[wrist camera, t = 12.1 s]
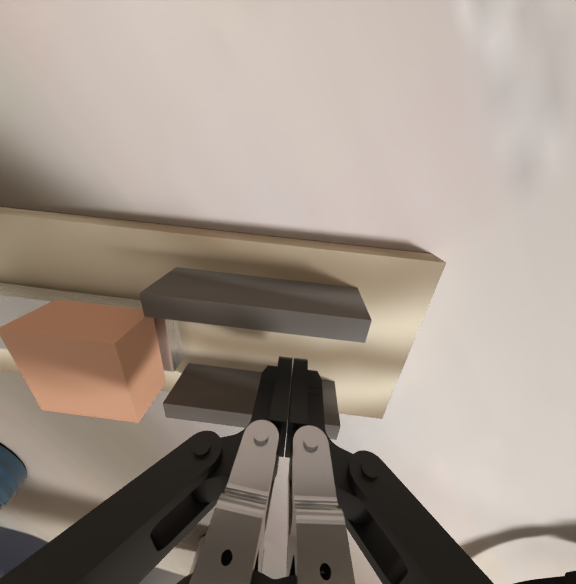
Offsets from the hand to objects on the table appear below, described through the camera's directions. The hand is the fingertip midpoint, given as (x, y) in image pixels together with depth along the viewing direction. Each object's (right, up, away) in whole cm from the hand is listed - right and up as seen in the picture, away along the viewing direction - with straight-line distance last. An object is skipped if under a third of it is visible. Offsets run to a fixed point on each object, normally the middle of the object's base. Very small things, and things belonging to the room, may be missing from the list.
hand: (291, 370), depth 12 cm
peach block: (-10, +1, +1) cm, 10 cm away
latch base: (-11, +3, +4) cm, 12 cm away
